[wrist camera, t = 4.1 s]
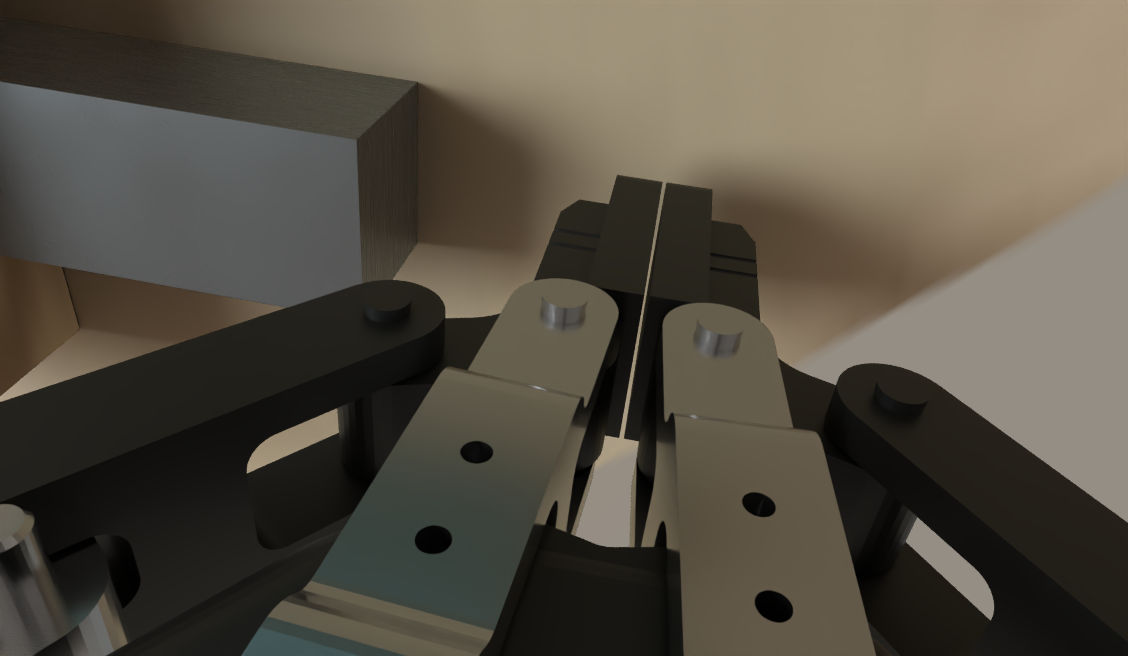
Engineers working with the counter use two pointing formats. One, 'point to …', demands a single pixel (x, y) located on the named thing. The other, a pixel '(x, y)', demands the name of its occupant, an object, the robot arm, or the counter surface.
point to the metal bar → (202, 165)
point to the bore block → (31, 316)
